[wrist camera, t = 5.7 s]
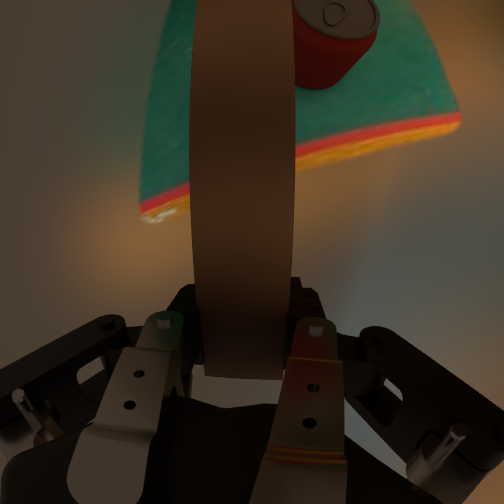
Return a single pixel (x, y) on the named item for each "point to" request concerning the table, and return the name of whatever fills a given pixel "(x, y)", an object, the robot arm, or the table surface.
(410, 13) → the table surface
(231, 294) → the walnut plank
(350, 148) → the table surface
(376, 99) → the table surface
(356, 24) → the beer can
